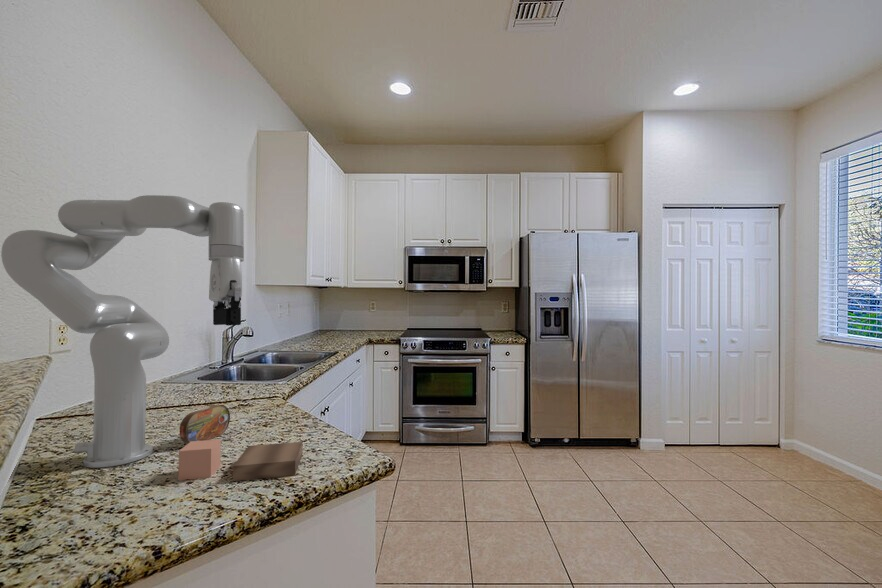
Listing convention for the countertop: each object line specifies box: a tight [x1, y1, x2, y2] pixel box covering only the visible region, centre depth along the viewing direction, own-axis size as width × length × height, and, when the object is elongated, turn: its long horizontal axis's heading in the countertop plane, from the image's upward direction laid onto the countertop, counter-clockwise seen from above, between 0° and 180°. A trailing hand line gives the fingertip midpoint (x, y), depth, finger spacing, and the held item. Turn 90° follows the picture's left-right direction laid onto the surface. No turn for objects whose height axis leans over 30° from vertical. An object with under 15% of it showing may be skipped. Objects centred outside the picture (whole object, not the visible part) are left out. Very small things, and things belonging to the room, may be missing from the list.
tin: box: [179, 404, 231, 445], centre depth 105 cm, size 15×3×8 cm, turn 168°
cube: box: [177, 438, 222, 481], centre depth 83 cm, size 6×6×6 cm
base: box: [232, 441, 304, 482], centre depth 86 cm, size 12×12×3 cm
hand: (226, 324), depth 94 cm, fingers open, 9 cm apart
